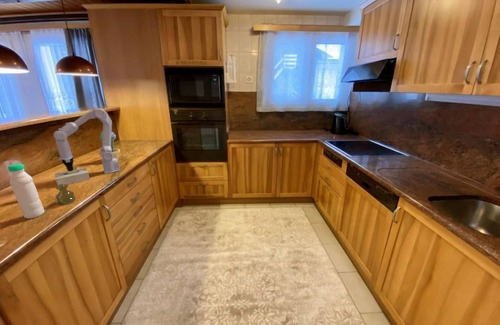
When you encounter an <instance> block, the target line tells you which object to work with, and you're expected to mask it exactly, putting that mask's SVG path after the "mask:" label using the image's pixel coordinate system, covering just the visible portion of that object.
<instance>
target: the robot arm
mask: <svg viewBox="0 0 500 325" xmlns="http://www.w3.org/2000/svg"><path fill="white" fill-rule="evenodd" d="M93 119H98V120H99V121H100V122H102V131H103V142H101V143H102V145H101V147H100V148H101V149H100V151H99V152H100V155H99V156H100V157H101V163H102V167H103V168H102V169H103V170H102V172H103V173H104V175H107V174H110V173H115V172H119V171H121V169H120V164H119V161H118V160H119V159H118V160H117V158H113V154H112V149H111V132H113V131H112V130H113V129H112V127H113V122H112V119H111V117H110V116H109V114H108V112H107V111H105V110H104V109H103V108H99V107H94V108H92V109H91V110H88V111H87V112H85V113H84V114H83V115H82V116H80V117H79V118H77V119H76V120H75V121H73V122H66V123H65V125H63V126H62V127H59V128H58V130H56V131H54V132H53V138H54V139H55V143H56V147H57V150H58V153H59V155H60V156H59V157H58V160H61V163H62V164H63V165H64V166H65V167H67V169H68V171H73V166H74V156H73V154H72V151H71V150H72V149H71V146H70V143H69V141H68V137H69V136H71V135H73V134H74V133H75V132H77V131H78V130H79V127H80V126H81V125H83V124H84V123H85V122H87V121H89V120H93ZM67 169H66V170H67Z"/></svg>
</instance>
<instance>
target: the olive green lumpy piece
mask: <svg viewBox="0 0 500 325" xmlns="http://www.w3.org/2000/svg"><path fill="white" fill-rule="evenodd" d="M68 187H69V184H68V185H67V184H60V185H57V186H56V187H55V189H56V190H58V191H59V192H58V193H56V195H55V199H56V203H57V205H58V206H59V205H60V206H64V205H69V204H71V203H73V202H75V201H76V196H75V192H74V191H72V190H68V189H67V188H68Z"/></svg>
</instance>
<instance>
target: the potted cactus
mask: <svg viewBox="0 0 500 325" xmlns="http://www.w3.org/2000/svg"><path fill="white" fill-rule="evenodd" d="M116 138H117V136H116V134H115V132H113V131H111V149H112V154H113V158H117V160H119V156H120V153H121V149H119V148H114V142H115V139H116ZM99 139H100V142H101V143H102V142H103V130H102V131H101V132H100V135H99ZM98 155H99V156H100V151H98Z"/></svg>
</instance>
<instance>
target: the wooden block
mask: <svg viewBox="0 0 500 325" xmlns="http://www.w3.org/2000/svg"><path fill="white" fill-rule="evenodd" d="M65 167H66V166H65ZM77 169H78V168H77V166H76V165H73V171H68V169H67V167H66V168H65V170H66V171H67V173H68V174H72V173H77V172H78V171H77Z"/></svg>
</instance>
